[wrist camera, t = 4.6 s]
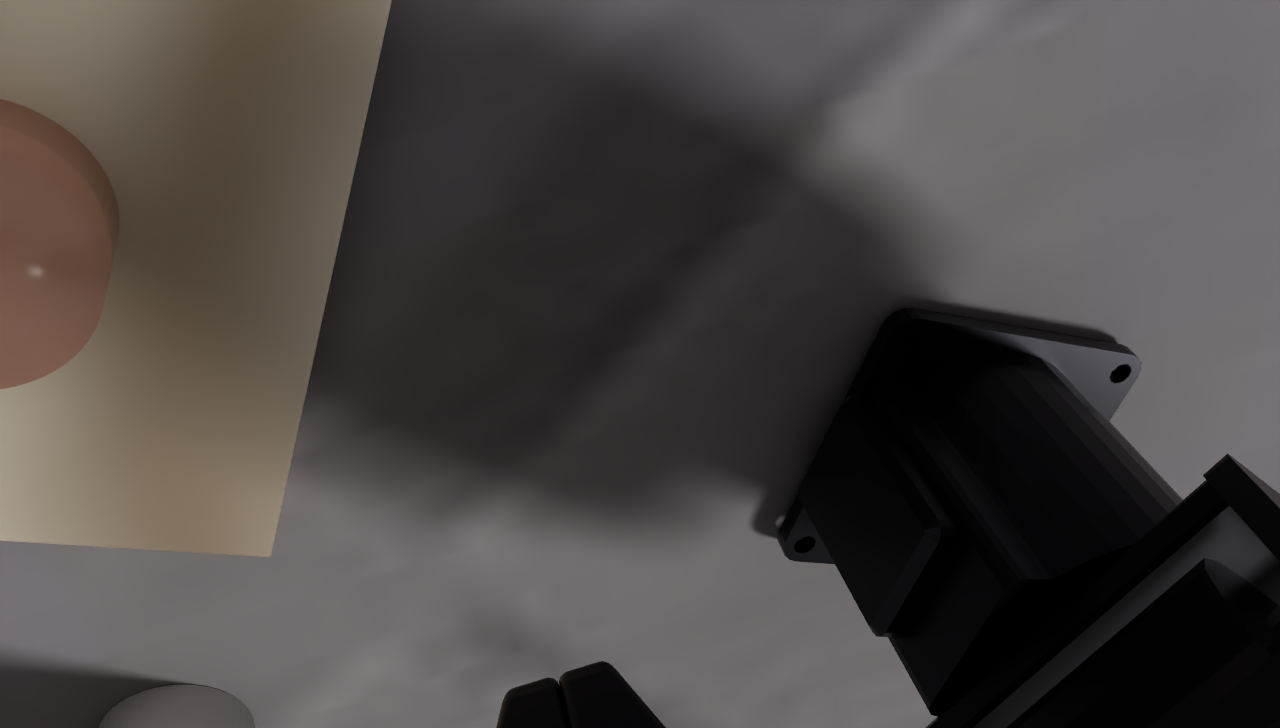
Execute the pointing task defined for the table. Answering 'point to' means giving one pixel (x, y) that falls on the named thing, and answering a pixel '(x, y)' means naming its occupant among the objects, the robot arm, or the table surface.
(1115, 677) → the robot arm
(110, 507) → the beige flat board
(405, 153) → the table surface
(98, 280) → the puck
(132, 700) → the vial
